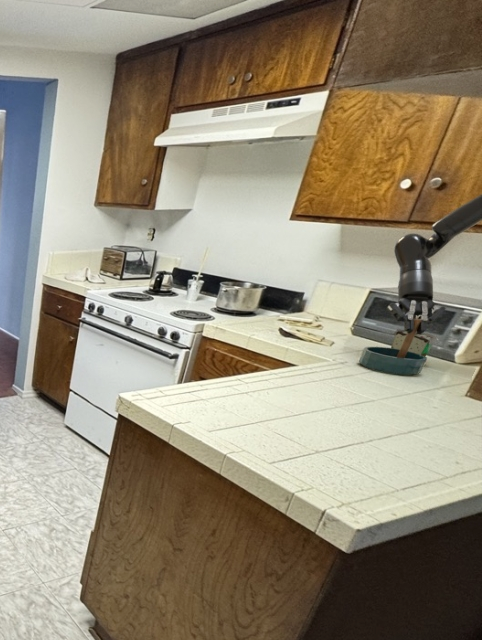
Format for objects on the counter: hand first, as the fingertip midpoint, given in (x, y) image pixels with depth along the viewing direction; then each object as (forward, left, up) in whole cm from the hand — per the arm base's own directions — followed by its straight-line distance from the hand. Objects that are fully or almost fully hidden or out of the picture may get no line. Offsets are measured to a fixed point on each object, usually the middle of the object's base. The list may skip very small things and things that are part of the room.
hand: (415, 332), depth 146 cm
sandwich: (-8, -18, -14) cm, 24 cm away
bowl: (+2, -3, -13) cm, 14 cm away
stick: (0, -2, -11) cm, 11 cm away
